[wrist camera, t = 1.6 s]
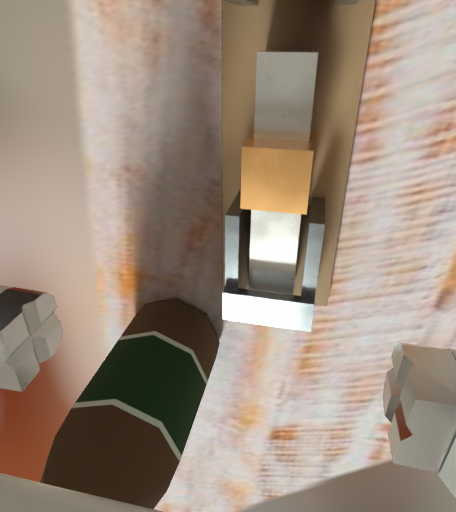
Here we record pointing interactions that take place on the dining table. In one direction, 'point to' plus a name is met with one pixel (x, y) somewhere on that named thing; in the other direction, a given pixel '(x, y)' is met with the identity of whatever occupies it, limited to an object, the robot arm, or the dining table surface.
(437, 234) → the dining table surface
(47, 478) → the beer bottle
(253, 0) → the socket
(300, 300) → the grey u-shaped bracket
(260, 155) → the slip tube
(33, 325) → the robot arm
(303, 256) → the board
